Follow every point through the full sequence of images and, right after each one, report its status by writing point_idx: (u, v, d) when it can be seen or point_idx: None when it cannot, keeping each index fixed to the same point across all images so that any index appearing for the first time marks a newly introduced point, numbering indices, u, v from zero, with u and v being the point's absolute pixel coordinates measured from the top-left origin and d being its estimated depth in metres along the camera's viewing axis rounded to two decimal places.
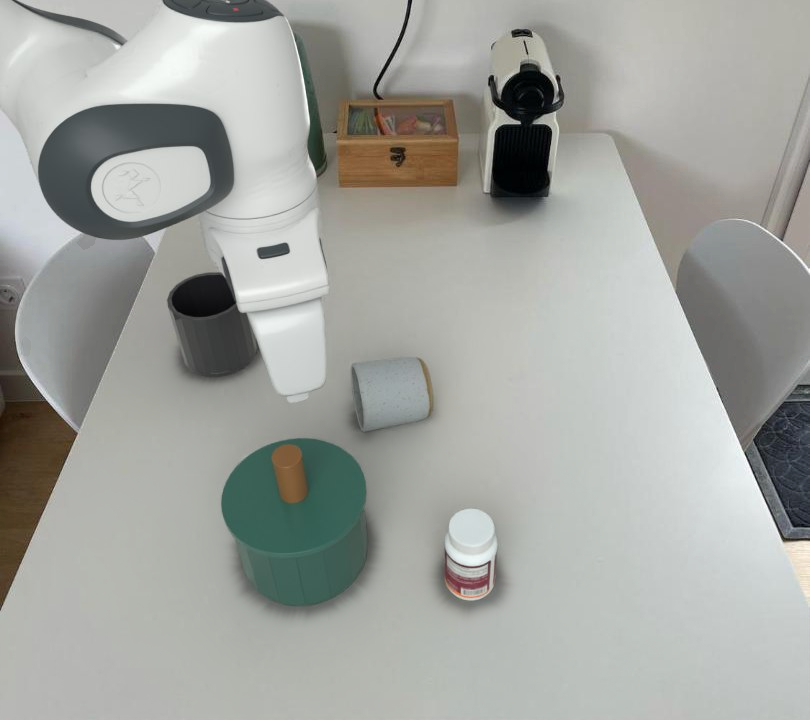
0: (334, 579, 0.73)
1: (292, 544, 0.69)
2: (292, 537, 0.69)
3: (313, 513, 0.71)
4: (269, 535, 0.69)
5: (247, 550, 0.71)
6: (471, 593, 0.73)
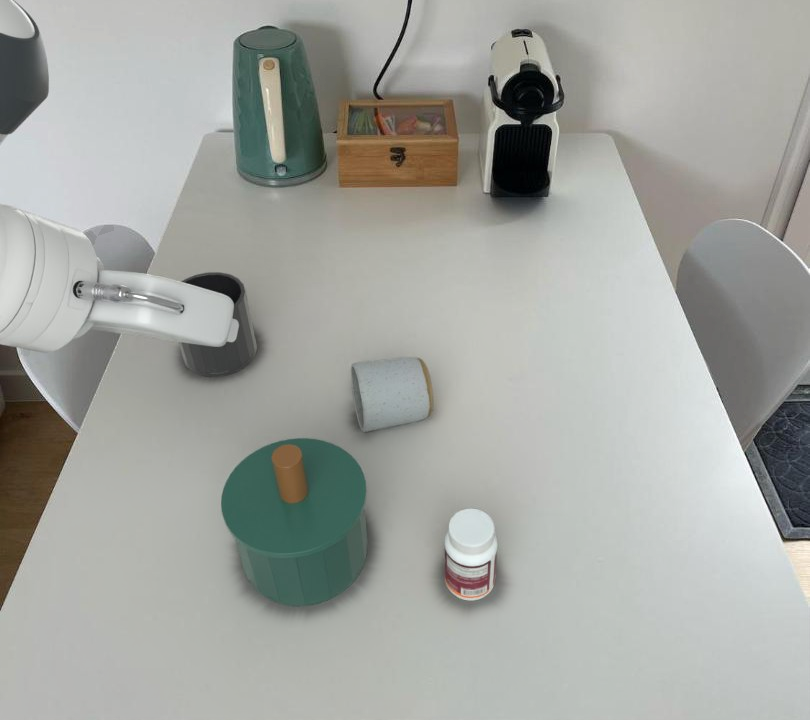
0: (334, 579, 0.73)
1: (292, 544, 0.69)
2: (292, 537, 0.69)
3: (313, 513, 0.71)
4: (269, 535, 0.69)
5: (247, 550, 0.71)
6: (471, 593, 0.73)
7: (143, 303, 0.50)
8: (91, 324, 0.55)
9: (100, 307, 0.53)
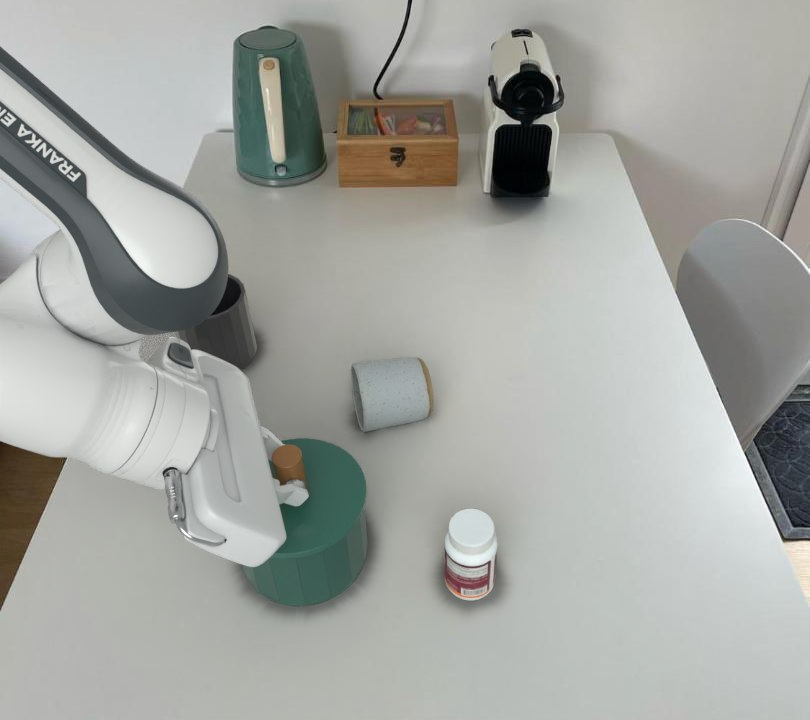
0: (334, 579, 0.73)
1: (292, 544, 0.69)
2: (292, 537, 0.69)
3: (313, 514, 0.71)
4: None
5: None
6: (471, 593, 0.73)
7: (183, 535, 0.57)
8: None
9: None
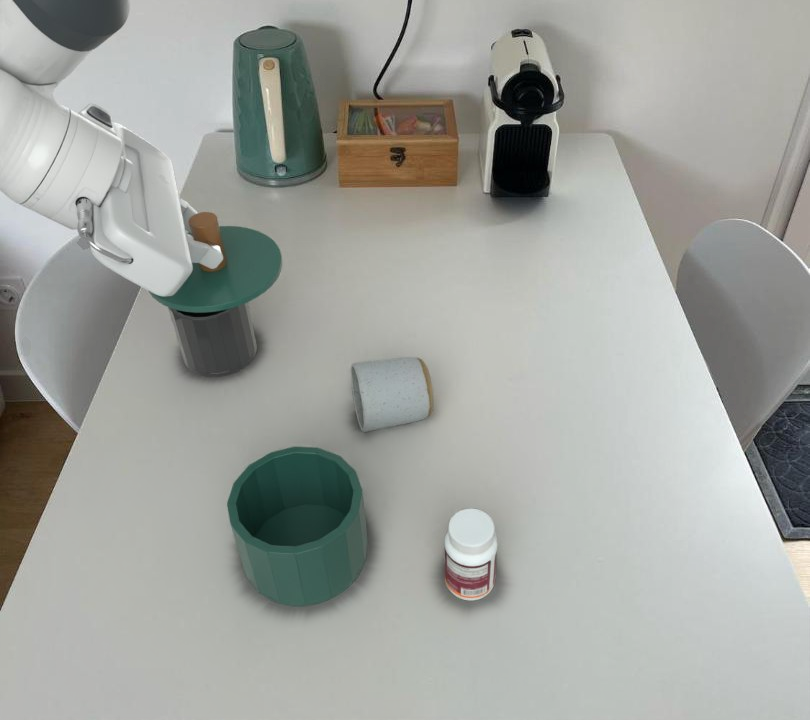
0: (334, 579, 0.73)
1: (207, 300, 0.73)
2: (208, 295, 0.74)
3: (229, 278, 0.76)
4: (186, 294, 0.74)
5: (247, 550, 0.71)
6: (471, 593, 0.73)
7: (90, 247, 0.62)
8: None
9: None
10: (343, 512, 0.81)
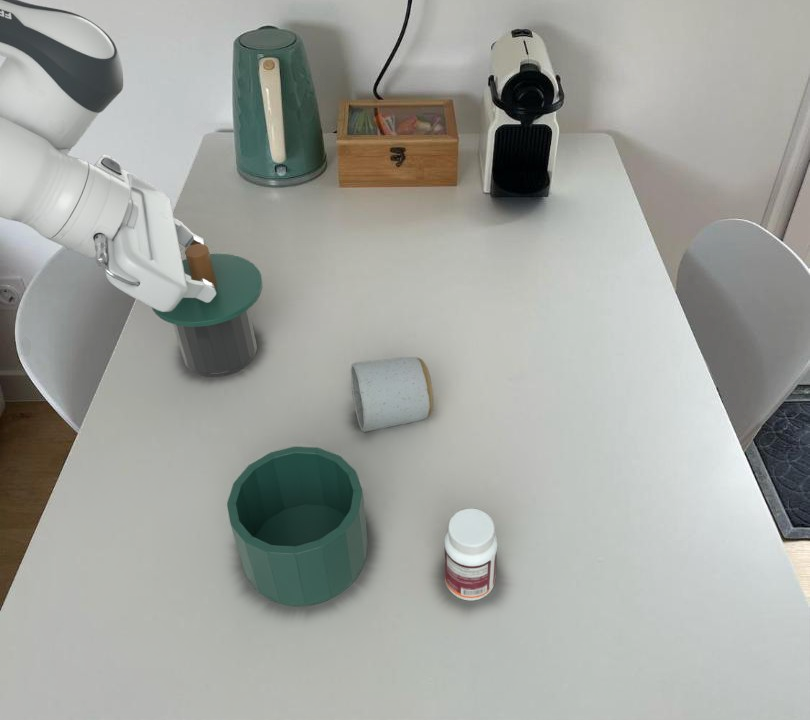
0: (334, 579, 0.73)
1: (200, 316, 0.90)
2: (201, 312, 0.90)
3: (218, 298, 0.92)
4: (183, 311, 0.91)
5: (247, 550, 0.71)
6: (471, 593, 0.73)
7: (106, 273, 0.78)
8: None
9: None
10: (343, 512, 0.81)
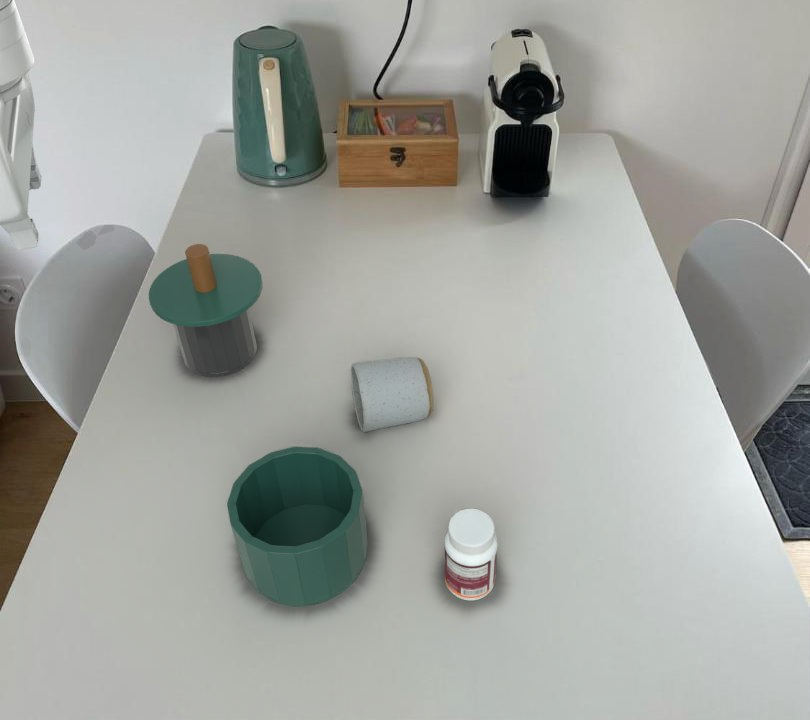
0: (334, 579, 0.73)
1: (200, 316, 0.90)
2: (201, 312, 0.90)
3: (218, 298, 0.92)
4: (183, 311, 0.91)
5: (247, 550, 0.71)
6: (471, 593, 0.73)
7: None
8: None
9: None
10: (343, 512, 0.81)
